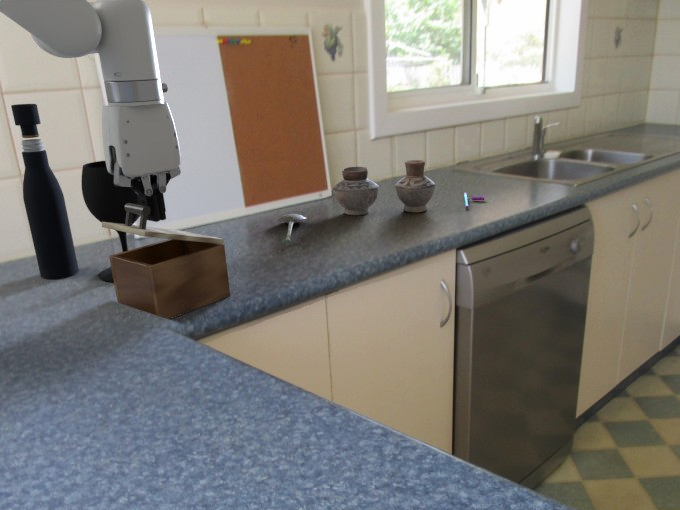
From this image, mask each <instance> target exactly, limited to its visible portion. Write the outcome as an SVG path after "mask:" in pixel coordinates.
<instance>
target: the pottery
mask: <svg viewBox="0 0 680 510" xmlns="http://www.w3.org/2000/svg"><path fill="white" fill-rule="evenodd" d="M425 165H426V161H425V160H423V159H411V160H405V161H404V166H405V173H406V175H405V176H404V177H403V178H401V179H399V181H397V182H396V183H395V184H394V189H395V192H396V195H397V197H398V200H399V201H400V202H401V203H402V204H403V205H404V206H403V211H405V212H407V213H422V212H426V211H427V210H428V208H427V204H428V203H429V202H430V201H431V199H432V197H433V195H434V192H435V189H436V183H435V182H434V181H433V180H432V179H431V178H429V177H427V176H426V175H425V174H424V173H425ZM341 175H342V178H343V179H342V180H341V181H339V182H338V183H336V184H335V185H334V186H333V187H332V193H333V196H334V198H335V200H336V201H337V203H338V204H339V205H340V206H341V207H342V208H343V209H344V214H346V215H347V216H348V215H350V216H364V215H367V214H369V211H370V208H371V206H373V204H374V203H375V202H376V200H377V198H378V196H379V192H380V186H379V184H377V183H376V182H374V181H373V180H371V179H369V178H368V176H369V168H368V167H365V166H349V167H344V168H342V170H341Z"/></svg>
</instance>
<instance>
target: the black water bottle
mask: <svg viewBox="0 0 680 510" xmlns="http://www.w3.org/2000/svg"><path fill="white" fill-rule="evenodd" d="M10 107H11V111H12V112H11V113H12V116H13V121H14V125H15V126H18V127H20V131H21V137H22V140H21V143H20V145H21V146H22V148H21V149H22V150H23V151H22V152H21V156H22V160H23V165H24V174H23V181H22V199H23V204H24V209H25V214H26V217H27V222H28V227H29V230H30V235H31V239H32V243H33V248H34V252H35V253H34V254H35V257H36V262H37V266H38V270H39V276H40V277H41V278H42V279H45V280H58V279H64V278H69V277H72V276H75V275H77V274H78V273H79V272H80V269H79V264H78V259H77V255H76V250H75V244H74V239H73V234H72V230H71V229H72V228H71V226H70V225H71V224H70V220H69V215H68V210H67V205H66V199H65V194H64V192H63V190H62V187H61V184H60V182H59V181H58V179H57V177H56V175H55V173H54V171H53V169H51V167H50V164H49V159H48V158H49V157H48V153H47V150H46V149H44V148H45V146H44V145H43V144H44V142H43V141H42V139H41V138H38V137H40V134H39V130H38V125H41V118H40V114H39V109H38V105H37V103H19V104H17V103H16V104H12V105H10Z"/></svg>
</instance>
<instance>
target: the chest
mask: <svg viewBox="0 0 680 510" xmlns="http://www.w3.org/2000/svg"><path fill="white" fill-rule="evenodd" d="M108 258H109V264H110V267H111V269H112V275H113V280H114V282H113V285H114V286H113V287H114V291H115V296H116V301H117V304H121V305H124V306H126V307H129V308H133V309H136V310H139V311H141V312H145V313H149V314H151V315H154V316H157V317H161V318H164V319H166V320H169V319H170V318H172V317H175V316H177V317H179V316H178V315H180V314H182V315H184V314H183V313H185V314H187V313H186V312H188V311H190V312H192V311H191V310H193V311H195V310H198V309H200V308H203V307H206V306H208V305H211V304H214V303H215V302H218V301H221V300H223V299H226V298H228V297H231V289H230V288H231V287H230V281H229V274H228V266H227V265H228V264H227V256H226V248H225V243H224V244H217V243H206V242H196V241H186V240H175V239H164V240H161V241H157V242H153V243H150V244H147V245H143V246H139V247H136V248H132V249H128V251H125V252H123V251H121V252H117V253H114V254H111V255H109V256H108ZM202 306H203V307H202ZM188 313H189V312H188ZM180 316H181V315H180ZM175 318H176V317H175ZM172 319H173V318H172ZM170 320H171V319H170Z"/></svg>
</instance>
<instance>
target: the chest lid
mask: <svg viewBox="0 0 680 510" xmlns="http://www.w3.org/2000/svg"><path fill="white" fill-rule="evenodd" d="M124 209H125V211H126V220H125V224H118V223H109V222H101V227H102V228H105V229H109V230H114V231H115V230H118V231H122V232H127V234H131V235H136V236H140V237H146V238H156V239H164V240H168V239H175V240H186V241H196V242H206V243H217V244H224V245H225V239H224V238H220V237H215V236H210V235H206V234H200V233H196V232H191V231H185V230H181V229H173V228H163V227H162V228H161V227H154V226H147V224H148V220H147V216H148V215H149V214H150V212H151V210H150V208H149V207H148V206H143V205H137V204H132V203H127V204H126V205H125V207H124ZM133 213H134V214H139V215H141V216H140V217H139V225H135V224H133V225H132V218H133Z"/></svg>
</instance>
